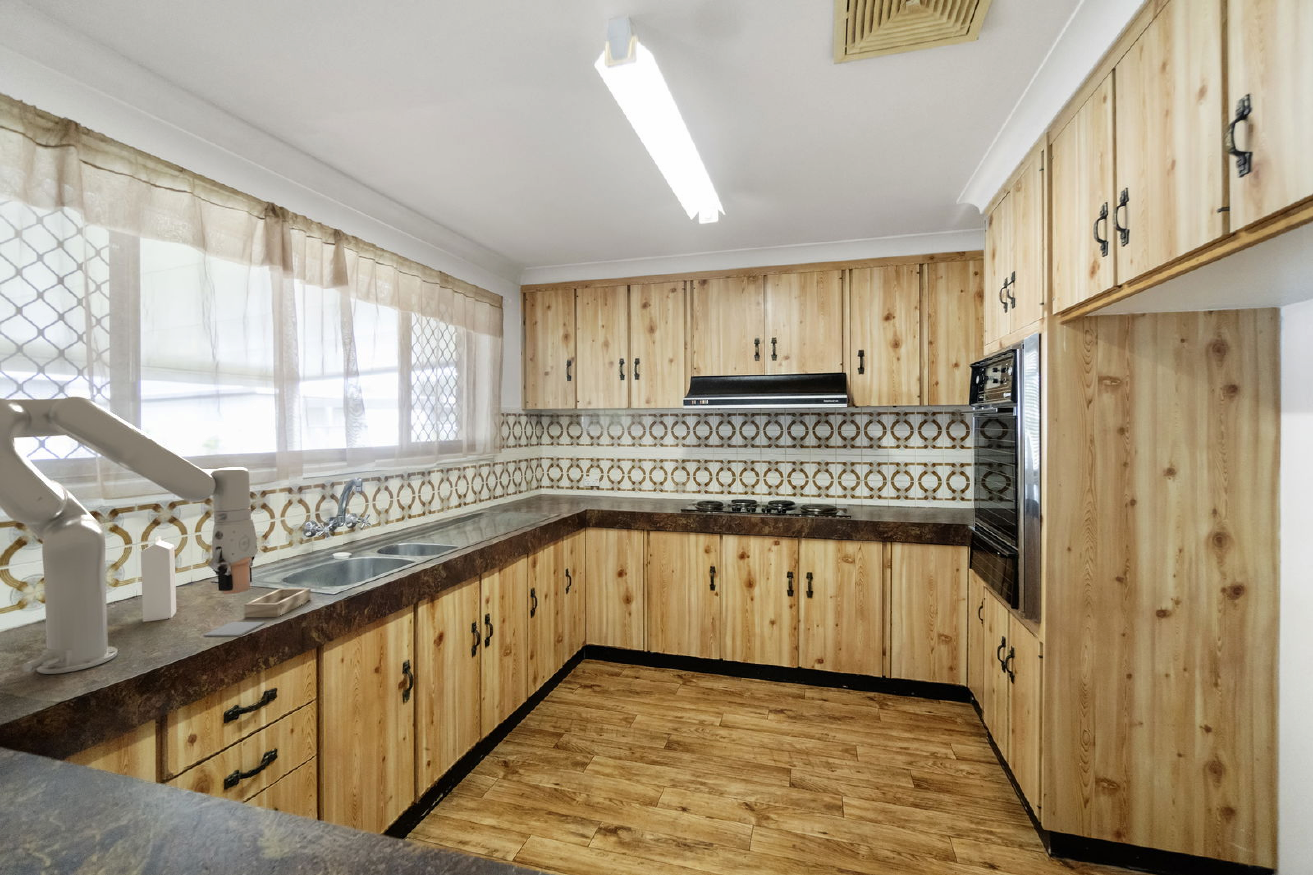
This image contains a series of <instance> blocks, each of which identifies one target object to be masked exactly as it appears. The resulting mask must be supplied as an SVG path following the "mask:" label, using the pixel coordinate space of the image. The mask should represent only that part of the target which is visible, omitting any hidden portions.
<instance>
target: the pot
mask: <svg viewBox="0 0 1313 875" xmlns="http://www.w3.org/2000/svg"><path fill="white" fill-rule="evenodd" d="M250 561H252V558H251V557H248V558H245V559H242V560H239V561H238V562H236V563H230V566H232V567H231V571H230V574H232V580H233V589H232V590H231V591H220V593H221V594H223V595H231V594H232V595H234V594H239V593H245V592H246V591H250V590H251V582H250V567H249V562H250ZM222 562H226V561H225V560H224V561H222ZM221 566H223V567H224V568H225V569H226V565H221Z"/></svg>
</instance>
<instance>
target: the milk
mask: <svg viewBox="0 0 1313 875" xmlns="http://www.w3.org/2000/svg"><path fill="white" fill-rule="evenodd" d="M161 539H162V536H161V534H160V535H158V536H156V537H155V538H154V543H152V544H151V545H149V546H147V547H146V548H144V549H142V550H141V551H140V568H141V569H140V570H141V571H140V572H141V573H140V574H141V575H140V576H141V603H142V605H141V606H142V623H146V622H147V623H148V622H151V621H152V622H153V621H159V620H168V618H169V619H172V618H173V616H175V614H176V613H177V589H176V588H177V587H176V555H175V553H176V552H175V550H176V549H175V544H172V543H170V542H167V541H163V540H161Z"/></svg>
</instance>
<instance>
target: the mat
mask: <svg viewBox="0 0 1313 875" xmlns="http://www.w3.org/2000/svg"><path fill="white" fill-rule="evenodd" d="M265 624H266V622H265V621H231V622H228V623H225V624H224V625H221V626H220V627H217V628H216V629H212V630H211V631H209V632H206V633H205V634H203V637H242V636H244V635H246V634H247V633H249V632H251V631H253V630H255V629H257V628H259V627H261V626H263V625H265ZM256 627H257V628H256ZM254 628H255V629H254ZM252 629H253V630H252Z"/></svg>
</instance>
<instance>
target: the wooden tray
mask: <svg viewBox="0 0 1313 875" xmlns="http://www.w3.org/2000/svg"><path fill="white" fill-rule="evenodd" d="M311 589H312V588H309V587H307V588H306V587H305V588H304V587H301V588H298V587H297V588H294V587H293V588H289V587H288V588H279V589H277V590H274V591H272V592H269V593H266V594H265V595H262V596H260V597H258V598H255V599H254V600H251V601H249V602H246V603H244V604H243V608H244V610H243V611H244V616H243V617H244V618H278V617H280V615H281V616H282V614H283V615H284V614H287V613H288V612H290V611H292V610H294V609H296V608H299V607H300V606H302V605H304V604H306V603H308V602H309V601H308V600H310V601H311V600H312V596H311V595H312V594H311V591H312V590H311ZM307 601H308V602H307ZM301 604H302V605H301ZM299 605H300V606H299ZM291 609H292V610H291Z"/></svg>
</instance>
